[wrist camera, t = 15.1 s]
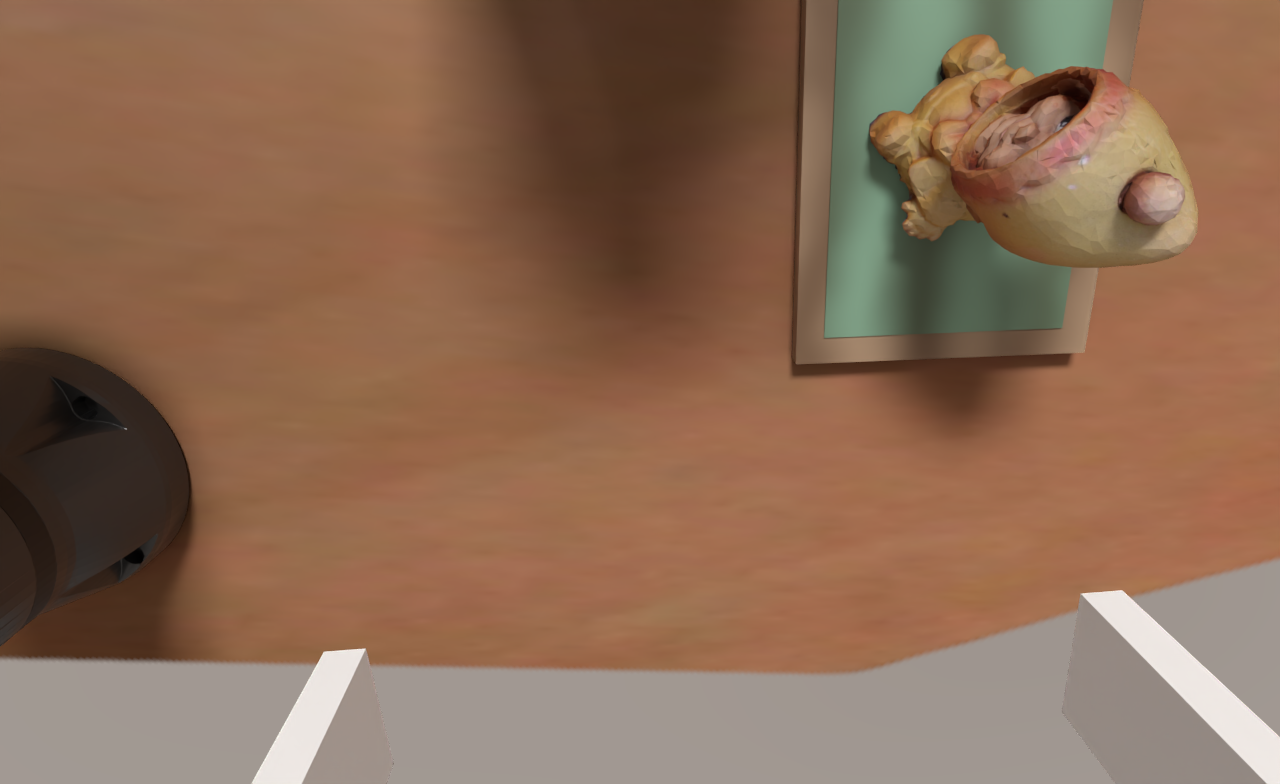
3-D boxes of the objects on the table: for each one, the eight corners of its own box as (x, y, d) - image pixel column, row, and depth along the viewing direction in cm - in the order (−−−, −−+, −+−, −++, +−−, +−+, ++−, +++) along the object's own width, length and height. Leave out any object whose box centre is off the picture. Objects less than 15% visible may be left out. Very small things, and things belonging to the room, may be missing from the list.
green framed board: (791, 357, 43) (796, 364, 41) (804, -86, 35) (809, -93, 34) (1072, 346, 42) (1085, 353, 41) (1145, -103, 35) (1163, -112, 34)
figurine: (980, -6, 35) (1261, 5, 22) (1056, 105, 38) (1339, 169, 26) (826, 159, 38) (1000, 253, 25) (910, 249, 41) (1101, 373, 28)
